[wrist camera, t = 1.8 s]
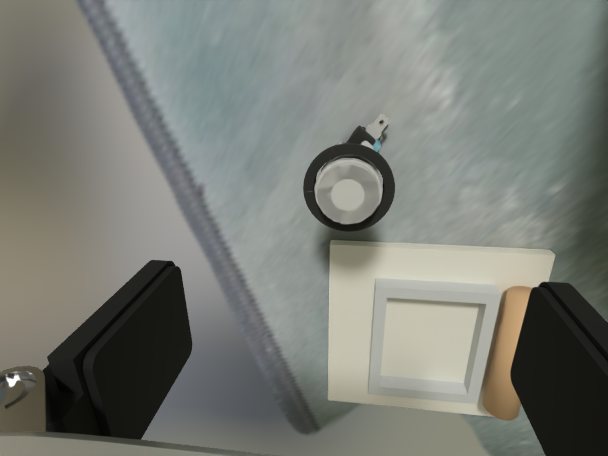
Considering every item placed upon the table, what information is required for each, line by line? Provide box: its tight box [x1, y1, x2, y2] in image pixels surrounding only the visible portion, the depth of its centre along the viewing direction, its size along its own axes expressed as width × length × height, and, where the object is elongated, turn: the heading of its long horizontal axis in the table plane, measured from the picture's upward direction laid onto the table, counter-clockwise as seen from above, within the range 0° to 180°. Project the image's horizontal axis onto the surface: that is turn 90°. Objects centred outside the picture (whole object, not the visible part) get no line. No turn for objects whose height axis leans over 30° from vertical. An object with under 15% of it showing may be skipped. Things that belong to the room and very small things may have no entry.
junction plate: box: [328, 240, 555, 420], centre depth 34 cm, size 18×18×4 cm
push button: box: [303, 113, 395, 231], centre depth 26 cm, size 7×5×10 cm
